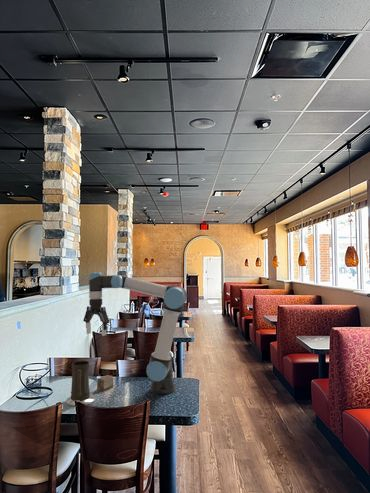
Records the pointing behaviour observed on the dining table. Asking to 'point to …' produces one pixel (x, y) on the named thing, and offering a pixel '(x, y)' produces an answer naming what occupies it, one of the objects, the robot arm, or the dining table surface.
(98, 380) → the menu block
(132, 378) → the dining table surface
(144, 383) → the dining table surface
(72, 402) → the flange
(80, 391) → the beer stein
